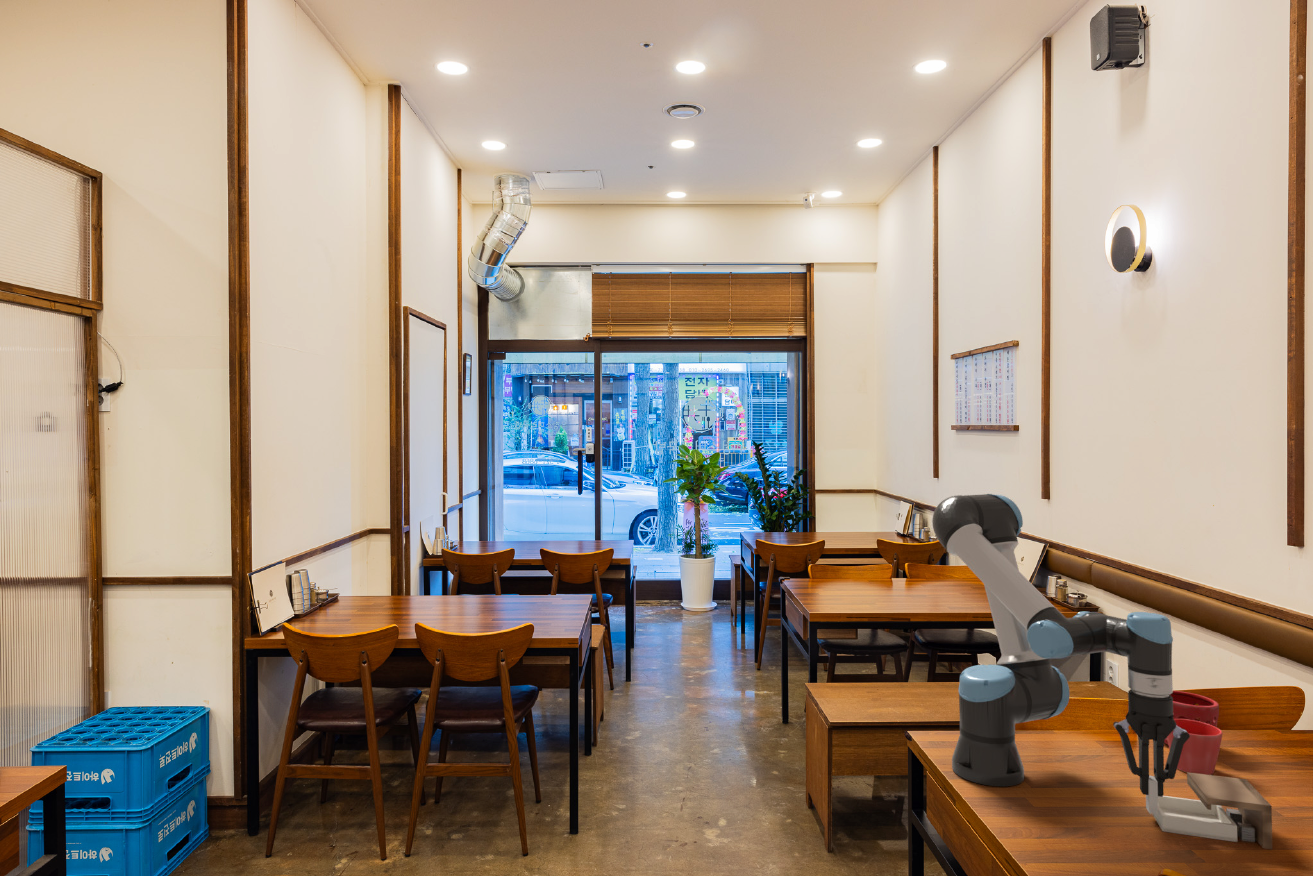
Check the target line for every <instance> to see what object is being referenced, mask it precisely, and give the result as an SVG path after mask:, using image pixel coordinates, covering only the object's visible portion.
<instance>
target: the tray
mask: <svg viewBox="0 0 1313 876" xmlns="http://www.w3.org/2000/svg"><path fill="white" fill-rule="evenodd" d="M1152 816H1153V818H1154V820H1155V821H1156V823H1157V824H1158V825H1159V828H1160V830H1161V832H1165V833H1173V834H1179V835H1184V836H1186V835H1187V836H1190V837H1191V836H1192V837H1200V838H1207V839H1212V840H1213V839H1214V840H1220V841H1227V842H1235V843H1238V827H1237V825H1236V824H1235V823H1234V822H1233V820H1232V819H1231V818H1230V817H1229V815H1228V814H1227V813H1226V809H1224V808H1223V806H1219V805H1211V810H1208V809H1207V808H1206V807H1205V806H1204V804H1203V803H1202V802H1201V800H1200V799H1192V798H1186V797H1178V796H1177V797H1176V796H1170V795H1169V796H1168V795H1163V797H1160V796H1158V815H1156V814H1152Z"/></svg>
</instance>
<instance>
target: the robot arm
mask: <svg viewBox="0 0 1313 876" xmlns="http://www.w3.org/2000/svg"><path fill="white" fill-rule="evenodd" d="M931 520H932V529H933V532H934V534H935V537H936V539H937V540H938V542H939V543H940V544H941V546H942V547H943V548H944V550H946V551H947V552H948V554H950V555H951V556H958V558H959V559H960V560H961V561H962V563H964V564H965V566H967V567H968V568H969V570H970V571H971V572H973V574H974V575H975V576H976V577H977V578H978V579H979V580H980V581H981V582H982V583H983V585H984V591H985V594H986V598H987V601H988V605H989V608H990V612H991V617H992V620H993V625H994V629H995V633H996V637H997V641H998V645H999V649H1000V653H1001V656H1000V658H999V659H998V661H997V662H996V664H977V665H972V666H969V667H966V668H964V670H962V672H961V673H960V674H959V685H958V700H959V701H958V704H959V705H958V707H959V736H958V738H957V742H956V745H955V748H954V752H953V753H952V757H951V769H952V771H953V772H954V773H955V774H956V775H957V776H959V777H960V778H962V779H965V780H967V781H970V782H972V783H976V784H980V785H984V786H989V787H990V786H991V787H1012V786H1017V785H1019V784H1021V783H1023V782H1024V780H1025V768H1024V765H1023V761H1022V759H1021V756H1020V752H1019V750H1018V747H1017V744H1016V724H1021V723H1022V724H1023V723H1027V722H1031V721H1037V720H1048V719H1050V718H1052V717H1055V716H1058V715H1060V714H1062V712H1064V711H1065V708H1066V707H1067V706H1068V704H1069V701H1070V687H1069V683H1068V680H1067V678H1066V677H1065V675H1064V673H1063V672H1061V671H1060V669H1059V668H1057V667H1056V666H1054V665H1053V664H1052V662H1051V659H1064V658H1069V657H1073V656H1080V655H1090V654H1095V653H1103V652H1105V653H1111V654H1114V655H1118V656H1120V657H1121V656H1122V657H1127V687H1128V688H1129V690H1128V691H1127V697H1128V699H1127V700H1128V701H1127V702H1128V704H1127V705H1128V707H1127V709H1128V710H1127V713H1126V715H1125V719H1123V720H1120V721H1114V722H1113V725H1112V726H1113V727H1114V729H1115V730H1116V731H1117V733H1118V734H1119V738H1120V741H1121V745H1122V749H1123V751H1124V755H1125V758H1126V761H1127V765H1128V768H1129V770H1130V772H1131V773H1132V774H1133V775H1135V776H1138V777H1139V789H1140V792H1141V794H1142V795H1145V808H1146V810H1147V812H1148V814H1150V815H1153V814H1156V815H1158V796H1160V797H1163V796H1165V795H1164V792H1165V791H1164V783H1165V782H1166V780H1168V779H1169V780H1174V779H1175V777H1176V775H1177V774H1176V773H1177V770H1178V769H1177V767H1178V763H1179V760H1180V756H1181V752H1182V749H1183V745H1184V743H1185V742H1186V741H1187V740H1188V739H1189V737H1190V735H1189V734H1188V732H1187V731H1186V730H1185V729H1182V728H1180V727H1178V726H1177V725H1176V722H1175V720H1174V718H1173V714H1174V713H1173V698H1172V697H1171V695H1170V694H1172V693H1173V691H1174V690H1173V687H1174V686H1173V667H1172V666H1173V665H1172V663H1173V662H1172V661H1173V659H1172V658H1173V657H1172V656H1173V655H1172V654H1173V641H1174V638H1173V635H1172V624H1171V623H1172V622H1171V619H1169V618H1168V616H1166V615H1163V614H1160V613H1159V614H1158V613H1154V612H1146V611H1134V612H1133V611H1132V612H1130V613H1128V615H1127V617H1126V619H1124V618H1120V617H1116V616H1112V615H1107V614H1103V613H1100V612H1097V611H1091V612H1090V611H1087V610H1086V611H1079V612H1077V613H1076V615H1074V616H1072V617H1066V616H1065V615H1064V614H1063V613H1062V612H1060V610H1058V609H1057V607H1055V606H1054V605H1053V604H1052V603H1051V602H1050V601H1049V599H1048V598H1046V597H1045V596H1044V594H1042V593H1041V592H1040V591H1039V589H1037V588H1036V586H1035V585H1034V584H1033V583H1031V581H1030V580H1028V579H1027V577H1025V576H1024V575H1023V574H1022V573H1021V571H1020V570H1019V566H1018V561H1017V558H1016V555H1015V549H1016V548H1017V546H1018V545H1019V541H1018V536H1019V535H1020V534H1021V532H1022V527H1023V525H1024V522H1023V520H1024V519H1023V515H1022V513H1021V510H1020V508H1019V507H1018V505H1017V504H1016V503H1015V501H1013V499H1010V498H1009V497H1007V496H1005V495H1003V494H1002V495H1001V494H992V493H986V494H985V493H984V494H970V495H969V494H967V495H962V494H960V495H959V494H958V495H951V496H949V497H946V498H945V499H942V500H941V502H939V504H937V506H936V507H935V509H934V512H933V514H932V519H931ZM1129 727H1130V728H1131V729H1132V730H1133V731H1134V733H1135V734H1136V736H1137V740H1138V764H1137V761H1136V757H1135V754H1134V751H1133V747H1132V744H1131V740H1130V737H1129V735H1128V733H1129V732H1130V729H1129ZM1173 730H1174V731H1173ZM1172 731H1173V735H1174V737H1173V740H1172V744H1171V747H1170V749H1169V752H1168V755H1167V758H1166V762H1165V758H1164V755H1165V753H1164V751H1165V750H1164V749H1165V748H1164V747H1165V743H1164V740H1165V739H1166V738H1167V737H1168V736H1169V734H1170V733H1171V732H1172ZM1150 741H1152V743H1153V744H1152V745H1153V746H1152V747H1153V749H1152V750H1153V751H1152V754H1153V756H1152V757H1153V760H1152V761H1153V775H1150V757H1149V756H1150V747H1149V746H1150Z"/></svg>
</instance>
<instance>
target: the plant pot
mask: <svg viewBox="0 0 1313 876" xmlns="http://www.w3.org/2000/svg"><path fill="white" fill-rule="evenodd" d="M1170 695H1171V697H1172V698H1173V718H1174V719H1188V720H1194V721H1199V722H1203V723H1206V724H1210V725H1212V726H1215V727H1217V726H1218V720H1219V717H1220V716H1219V712H1220V705H1219V703H1218V702H1217V701H1215V700H1214V699H1213V698H1209V697H1207V696H1204V695H1200V694H1196V693H1191V692H1185V691H1181V690H1180V691H1179V690H1173V693H1172V694H1170ZM1196 704H1197V705H1196ZM1217 728H1218V727H1217ZM1164 744H1166V745H1168V740H1167V738H1166V739H1165V740H1164ZM1168 746H1169V745H1168Z"/></svg>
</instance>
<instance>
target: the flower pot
mask: <svg viewBox="0 0 1313 876" xmlns="http://www.w3.org/2000/svg"><path fill="white" fill-rule="evenodd" d="M1174 720H1175V722H1176V725H1177V726H1178V727H1180V728H1182V729H1185V730H1186V731H1187V732H1188V734H1189V735H1190V737H1189V739H1188V740H1187V741H1186V742H1185V743H1184V745H1183V749H1182V752H1181V756H1180V760H1179V763H1178V767H1177V770H1179V771H1180V772H1184V773H1186V774H1187V772H1189V773H1197V774H1206V775H1214V773H1215V770H1216V766H1217V761H1218V758H1219V757H1218V756H1219V755H1220V753H1219V752H1220V748H1221V744H1222V741H1223V740H1222V739H1223V731H1222V730H1221V729H1220V728H1219V727H1215V726H1212V725H1210V724H1206V723H1203V722H1199V721H1194V720H1188V719H1174ZM1173 731H1174V730H1173ZM1173 731H1172V732H1171V733H1170V734H1169V736H1168V737H1167V740H1168V748H1169V750H1170V747H1171V744H1172V740H1173V737H1174V735H1173Z"/></svg>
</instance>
